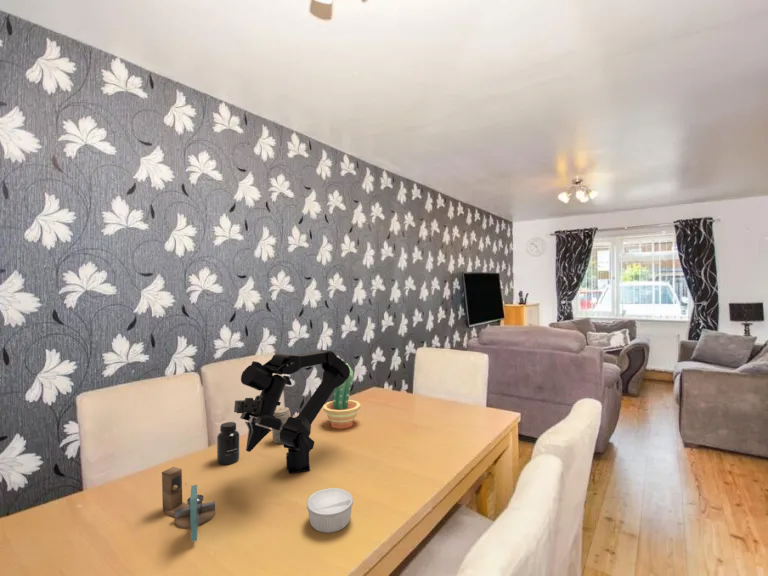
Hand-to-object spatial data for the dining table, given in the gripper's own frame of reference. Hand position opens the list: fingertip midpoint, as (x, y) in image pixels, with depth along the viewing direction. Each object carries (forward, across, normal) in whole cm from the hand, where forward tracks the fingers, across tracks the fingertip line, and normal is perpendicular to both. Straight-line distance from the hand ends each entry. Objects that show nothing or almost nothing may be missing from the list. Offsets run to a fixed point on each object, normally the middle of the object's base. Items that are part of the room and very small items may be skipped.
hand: (248, 451), depth 106 cm
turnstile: (+17, +4, -7) cm, 19 cm away
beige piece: (-4, -31, +22) cm, 38 cm away
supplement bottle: (+6, -27, +4) cm, 28 cm away
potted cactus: (-17, -31, +44) cm, 57 cm away
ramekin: (+9, +22, +18) cm, 30 cm away
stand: (+17, -2, -8) cm, 19 cm away
